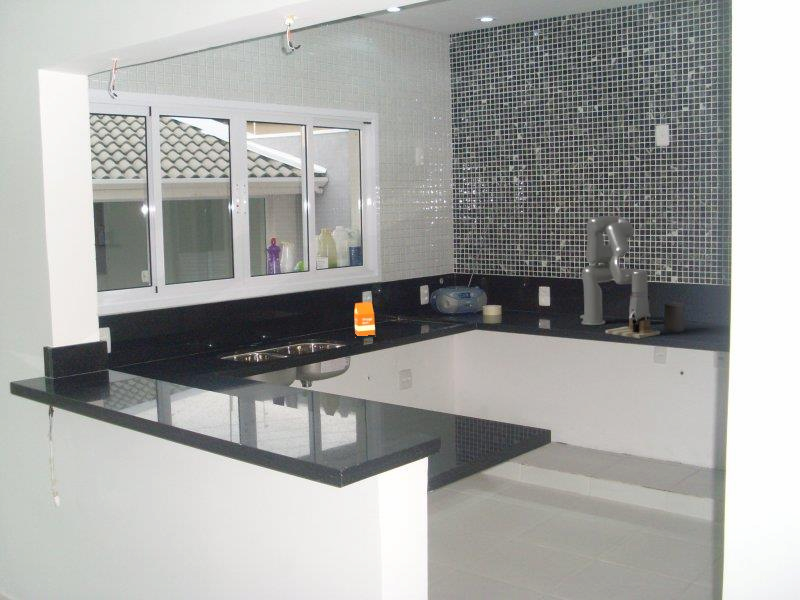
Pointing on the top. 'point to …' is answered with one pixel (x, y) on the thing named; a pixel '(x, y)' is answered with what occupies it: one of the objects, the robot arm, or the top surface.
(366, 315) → the orange juice
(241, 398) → the top surface
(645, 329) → the block
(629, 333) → the pine board
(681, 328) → the pillar candle
